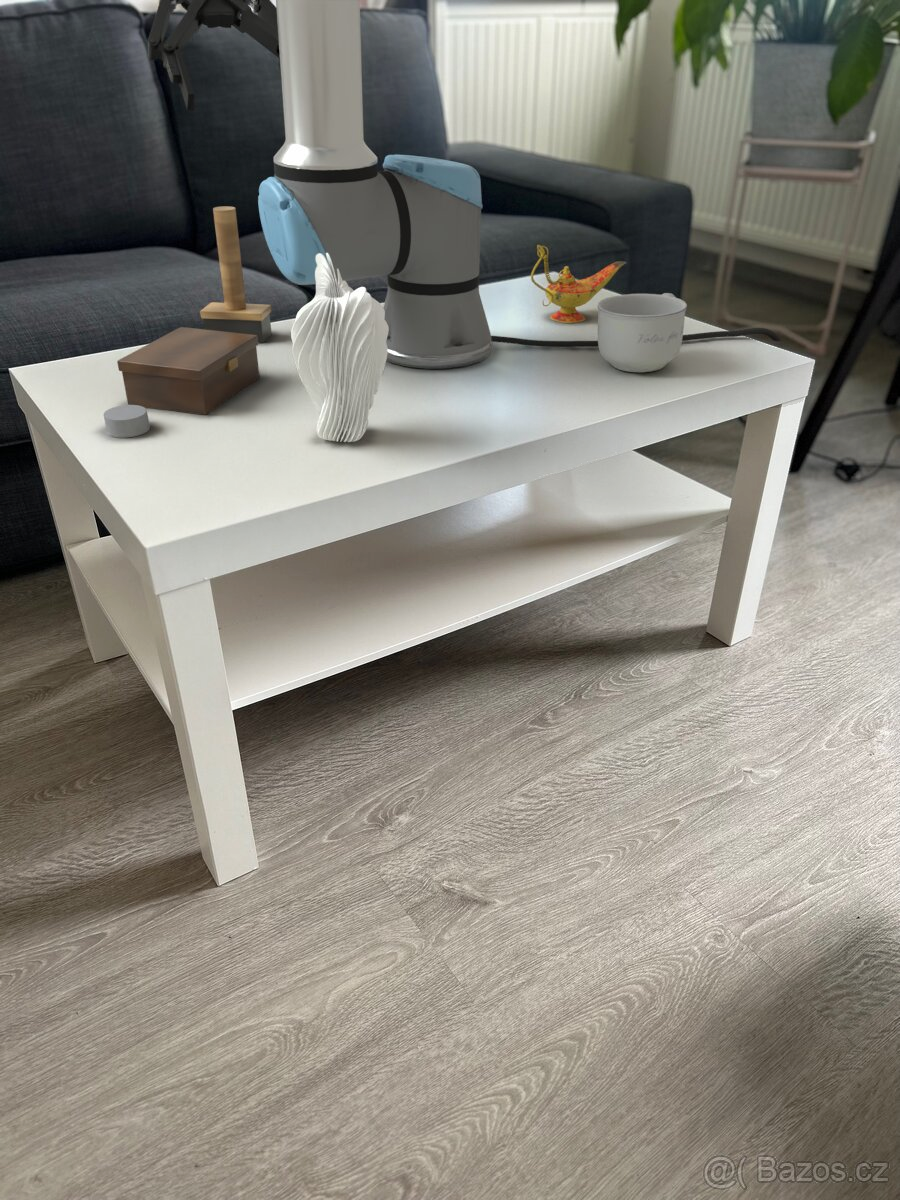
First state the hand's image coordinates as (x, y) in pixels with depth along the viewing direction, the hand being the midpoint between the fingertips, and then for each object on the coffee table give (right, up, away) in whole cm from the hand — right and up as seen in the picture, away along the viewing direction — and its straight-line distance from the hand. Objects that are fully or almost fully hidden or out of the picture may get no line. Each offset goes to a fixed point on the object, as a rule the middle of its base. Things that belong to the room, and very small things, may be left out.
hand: (244, 101), depth 118 cm
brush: (-3, -28, +9) cm, 29 cm away
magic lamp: (+45, -22, +19) cm, 53 cm away
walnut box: (-4, -39, -9) cm, 40 cm away
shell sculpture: (+15, -46, -20) cm, 53 cm away
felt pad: (-8, -44, -20) cm, 49 cm away
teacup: (+51, -33, +1) cm, 61 cm away
